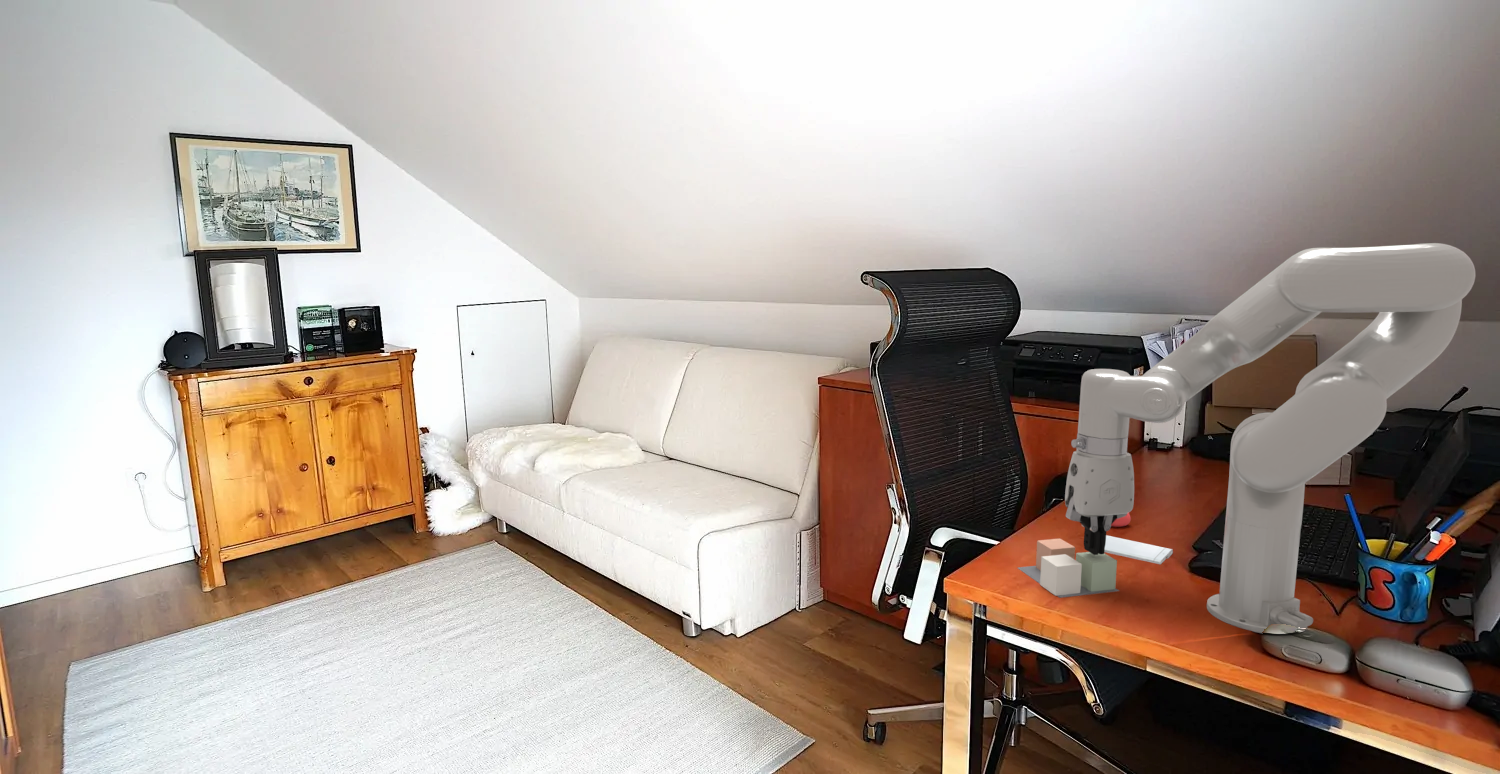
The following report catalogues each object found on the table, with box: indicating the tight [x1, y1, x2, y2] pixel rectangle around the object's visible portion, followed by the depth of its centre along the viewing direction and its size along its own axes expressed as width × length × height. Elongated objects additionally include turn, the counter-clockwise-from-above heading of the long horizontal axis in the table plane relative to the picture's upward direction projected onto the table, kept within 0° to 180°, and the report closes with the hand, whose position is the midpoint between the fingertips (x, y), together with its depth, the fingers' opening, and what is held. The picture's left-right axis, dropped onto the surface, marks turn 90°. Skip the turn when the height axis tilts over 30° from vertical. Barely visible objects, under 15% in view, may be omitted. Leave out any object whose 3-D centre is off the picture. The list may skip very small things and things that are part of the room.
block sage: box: [1075, 551, 1118, 592], centre depth 132 cm, size 4×4×5 cm
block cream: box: [1039, 554, 1082, 597], centre depth 131 cm, size 4×4×5 cm
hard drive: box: [1104, 534, 1174, 565], centre depth 148 cm, size 2×8×12 cm
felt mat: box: [1017, 565, 1120, 599], centre depth 135 cm, size 13×11×1 cm
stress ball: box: [1111, 512, 1132, 528], centre depth 163 cm, size 5×9×6 cm, turn 53°
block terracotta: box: [1035, 538, 1076, 571], centre depth 138 cm, size 4×4×5 cm
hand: (1093, 551), depth 132 cm, fingers closed
